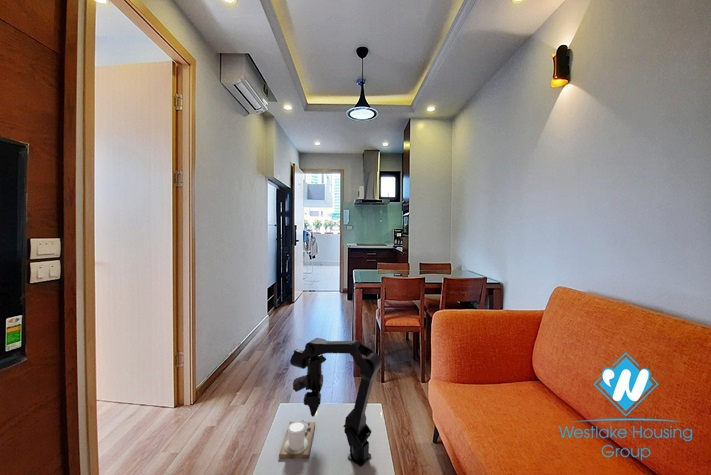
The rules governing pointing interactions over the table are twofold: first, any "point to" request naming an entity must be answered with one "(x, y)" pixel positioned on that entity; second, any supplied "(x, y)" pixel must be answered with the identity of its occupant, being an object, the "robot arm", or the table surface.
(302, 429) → the shot glass
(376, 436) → the table surface
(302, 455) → the gear board
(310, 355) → the robot arm
